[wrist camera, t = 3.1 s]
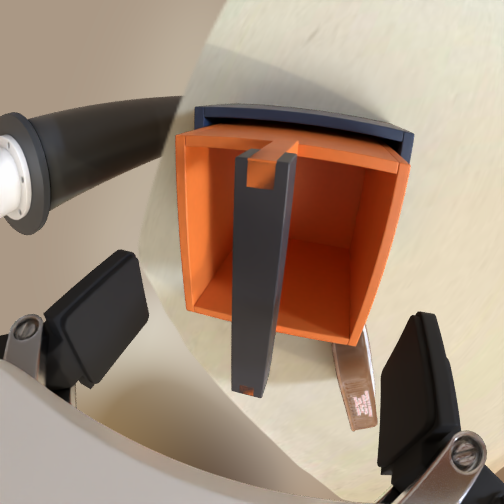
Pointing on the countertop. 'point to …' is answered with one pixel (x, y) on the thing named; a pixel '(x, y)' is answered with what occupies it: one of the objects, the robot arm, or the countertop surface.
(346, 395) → the tin
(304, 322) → the basket
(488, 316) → the countertop surface
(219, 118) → the bin outer
